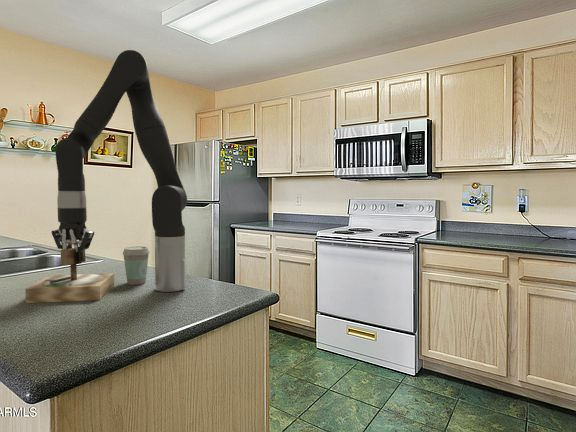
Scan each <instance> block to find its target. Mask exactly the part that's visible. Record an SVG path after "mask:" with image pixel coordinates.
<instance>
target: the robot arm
mask: <svg viewBox="0 0 576 432" xmlns="http://www.w3.org/2000/svg"><path fill="white" fill-rule="evenodd" d="M149 71H150V70H149V66H148V63H147V60H146V59H145V57H144V55H142V54H141V53H140V52H139V51H137V50H133V49H127V50H123V51H122V52H120V53H119V54H118V56H117V57H116V59H115V61H114V63H113V65H112V66H111V69H110V71H109V73H108V75H107V77H106V79H105V81H103V84H102V86H101V87H100V89H99V90H98V92H97V93H96V94H95V96H94V97H93V99H92V100H91V102H90V103H89V104H88V105H87V107H86V108H85V109H84V110H83V112H82V113H81V115H80V116H79V117H78V119H77V120H76V121H75V123H74V126H73V129H72V131H70V133H69V134H68V135H67V137H65V138H62V139H60V140H58V142H57V144H56V146H55V162H56V169H57V204H56V205H57V221H58V223H59V226H58V228H57V229H55V230H51V235H52V237H53V240H54V242H55V245H56V247H57V249H58V250H64V249H70V248H74V250H75V252H74V260H75V264H77V265H80V264H82V263H83V262H82V261H83V250H85V251H86V250H88V249H89V248H90V246H91V243H92V241H93V238H94V235H95V231H93V230H92V231H90V230H88V229H87V226H86V222H87V220H88V219H87V217H88V215H87V195H86V180H85V179H86V178H85V174H84V158H86V155H88V153H89V151H90V150H91V148H92V146H93V145H94V143H95V141H96V139H97V138H98V137H100V135H101V133H102V132H103V131H104V130H105V128H106V127H107V125H108V124H109V123H110V121H111V119H112V117H113V115H114V114H115V112H116V110H117V108H118V105H119V103H120V101H121V99H122V98H123V96H124V95H125V93H126V96H127V97H128V101H129V103H130V104H129V105H130V107H131V108H130V109H131V117H132V123H133V128H134V133H135V137H136V139H137V143H138V146H139V149H140V151H141V154H142V156H143V157H144V159H145V160H146V162H147V163H148V165H149V167H150V168H151V170H152V172H153V174H154V177H155V180H156V183H157V188H156V189H155V190H154V191H153V194H152V196H151V220H152V222H151V223H152V227H153V230H154V263H155V265H154V270H155V271H154V278H155V279H154V280H155V281H154V284H155V291H157V292H164V293H170V292H178V291H185V290H186V284H187V283H186V282H187V281H186V280H187V279H186V278H187V276H186V274H187V273H186V271H187V269H186V266H187V265H186V262H187V261H186V260H187V259H186V228H185V225H184V224H183V214H182V212H183V211H184V209H186V206H187V203H188V195H187V192H186V190H185V187H184V185H183V182H182V180H181V177H180V176H179V172H178V171H177V167H176V163H175V160H174V154H173V150H172V146H171V143H170V139H169V136H168V133H167V129H166V125H165V123H164V120H163V118H162V115H161V113H160V110H159V109H158V107H157V105H156V102H155V99H154V96H153V92H152V91H153V90H152V86H151V80H150V72H149Z"/></svg>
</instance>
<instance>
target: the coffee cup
mask: <svg viewBox="0 0 576 432" xmlns="http://www.w3.org/2000/svg"><path fill="white" fill-rule="evenodd" d="M122 255H123V260H124V261H123V262H124V267H125V268H124V269H125V270H124V271H125V276H126V282H127V285H130V286H131V285H135V286H137V285H144V284H146V282H147V273H148V263H149V255H150V250H149V247H148V246H128V247H125V248H123V251H122Z"/></svg>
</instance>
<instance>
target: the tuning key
mask: <svg viewBox="0 0 576 432" xmlns="http://www.w3.org/2000/svg"><path fill="white" fill-rule="evenodd" d="M74 252H75V250H74V247H72V248H70V249H64V250H62V249H60V265H61V266H70V267H69V268H70V275H71V277H66V278H61V279H57V280H53V281H50V283H51V284H52V283H56V282H60V281H64V280H68V279H71V280H76V279H77V274H78V273H77V272H78V270H77V267H78V266H77V265H78V264H75V260H74ZM82 263H86V250H83V261H82Z"/></svg>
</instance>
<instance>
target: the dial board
mask: <svg viewBox="0 0 576 432" xmlns="http://www.w3.org/2000/svg"><path fill="white" fill-rule="evenodd" d="M66 277H71V274H51V275H49V276H47V277H45V278H43V279H41V280H39V281H37V282H35V283H33V284H31V285H30V286H28V287H26V288H25V303H26V304H33V303H34V304H36V303H55V302H56V303H57V302H59V303H60V302H80V301H82V302H83V301H84V302H85V301H101V300H102V299H103V298H104V297H105V296H106V295H107V293H108V292H109V291H111V289H112V288H114V286H115V273H79V274H78V273H77V279H76V280H71V279H68V280H64V281H60V282H56V283H52V284H51V283H50V281H53V280H57V279H61V278H66Z"/></svg>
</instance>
